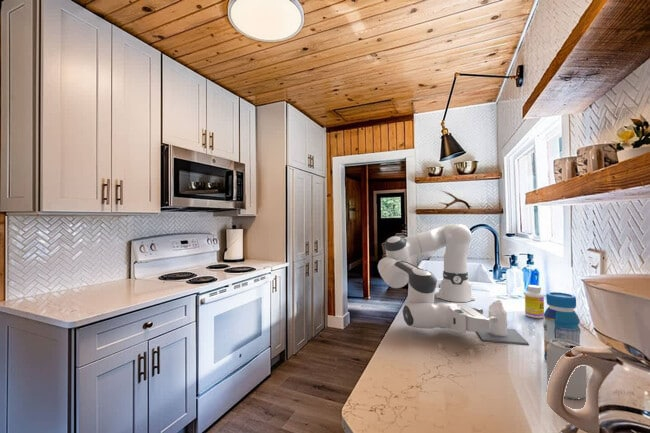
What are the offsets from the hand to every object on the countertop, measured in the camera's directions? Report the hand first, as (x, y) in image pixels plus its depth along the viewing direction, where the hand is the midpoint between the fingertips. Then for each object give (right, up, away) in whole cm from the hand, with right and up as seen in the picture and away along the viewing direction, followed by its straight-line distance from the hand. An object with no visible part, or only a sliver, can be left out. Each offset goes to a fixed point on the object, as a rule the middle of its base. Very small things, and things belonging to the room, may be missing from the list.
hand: (489, 315), depth 108 cm
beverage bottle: (+10, -8, -21) cm, 24 cm away
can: (0, -8, -35) cm, 36 cm away
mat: (+4, -7, 0) cm, 8 cm away
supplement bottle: (+31, -8, +21) cm, 38 cm away
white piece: (+4, -7, +1) cm, 8 cm away
